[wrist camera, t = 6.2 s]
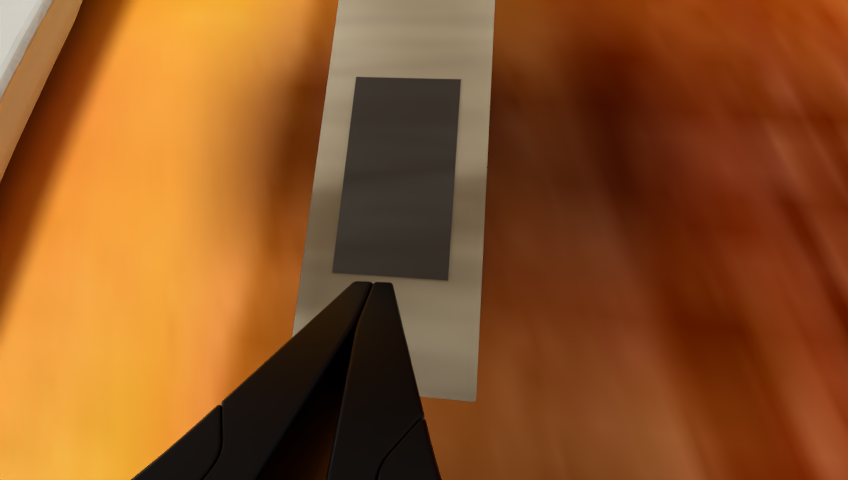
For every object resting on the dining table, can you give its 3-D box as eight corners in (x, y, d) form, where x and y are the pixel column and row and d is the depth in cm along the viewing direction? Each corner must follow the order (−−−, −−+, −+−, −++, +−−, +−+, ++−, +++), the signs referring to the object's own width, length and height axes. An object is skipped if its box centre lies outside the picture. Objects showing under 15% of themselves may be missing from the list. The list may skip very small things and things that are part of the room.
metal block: (476, 402, 9) (495, -7, 11) (284, 383, 9) (338, -8, 11) (467, 368, 14) (481, 90, 16) (342, 357, 14) (372, 87, 16)
